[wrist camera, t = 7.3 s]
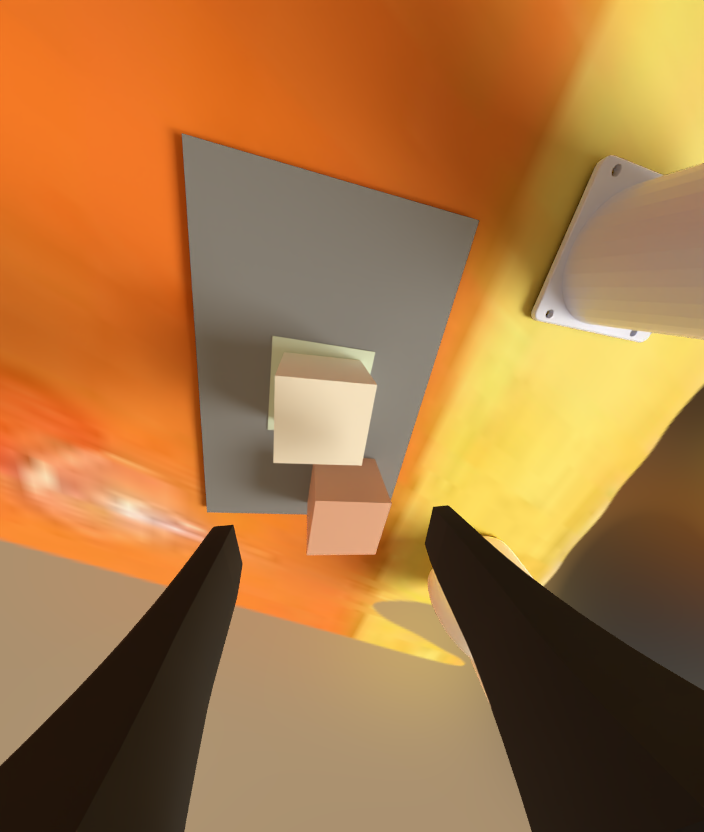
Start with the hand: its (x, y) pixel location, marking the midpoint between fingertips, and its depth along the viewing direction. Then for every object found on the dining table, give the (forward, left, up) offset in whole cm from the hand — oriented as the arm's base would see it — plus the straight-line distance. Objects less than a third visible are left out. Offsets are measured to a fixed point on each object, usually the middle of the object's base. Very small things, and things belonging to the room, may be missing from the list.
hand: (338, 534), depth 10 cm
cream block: (+1, -2, -9) cm, 9 cm away
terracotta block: (-2, +5, -9) cm, 10 cm away
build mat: (+1, -2, -9) cm, 10 cm away
